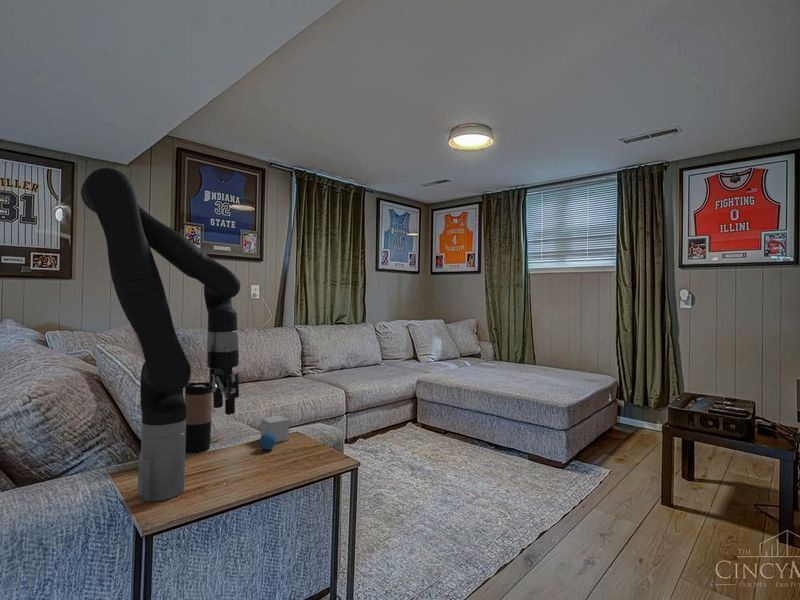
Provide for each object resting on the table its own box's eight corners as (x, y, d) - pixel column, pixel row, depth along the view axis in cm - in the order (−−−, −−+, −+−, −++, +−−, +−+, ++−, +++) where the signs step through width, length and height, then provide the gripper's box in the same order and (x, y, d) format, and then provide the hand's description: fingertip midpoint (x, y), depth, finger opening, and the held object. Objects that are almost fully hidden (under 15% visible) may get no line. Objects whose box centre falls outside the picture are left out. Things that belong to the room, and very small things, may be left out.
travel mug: (185, 446, 132) (187, 382, 133) (212, 444, 135) (213, 382, 135) (180, 454, 125) (182, 387, 125) (208, 452, 127) (210, 386, 128)
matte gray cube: (269, 443, 136) (269, 422, 137) (260, 438, 142) (261, 418, 142) (288, 439, 141) (289, 419, 141) (279, 435, 146) (280, 415, 146)
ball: (263, 453, 128) (263, 436, 128) (256, 448, 131) (256, 432, 132) (278, 449, 131) (278, 433, 131) (271, 445, 135) (272, 430, 135)
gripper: (198, 347, 112) (199, 408, 112) (217, 352, 102) (218, 419, 102) (227, 345, 117) (228, 403, 117) (248, 349, 107) (249, 413, 107)
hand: (223, 410), depth 110 cm, fingers open, 8 cm apart
